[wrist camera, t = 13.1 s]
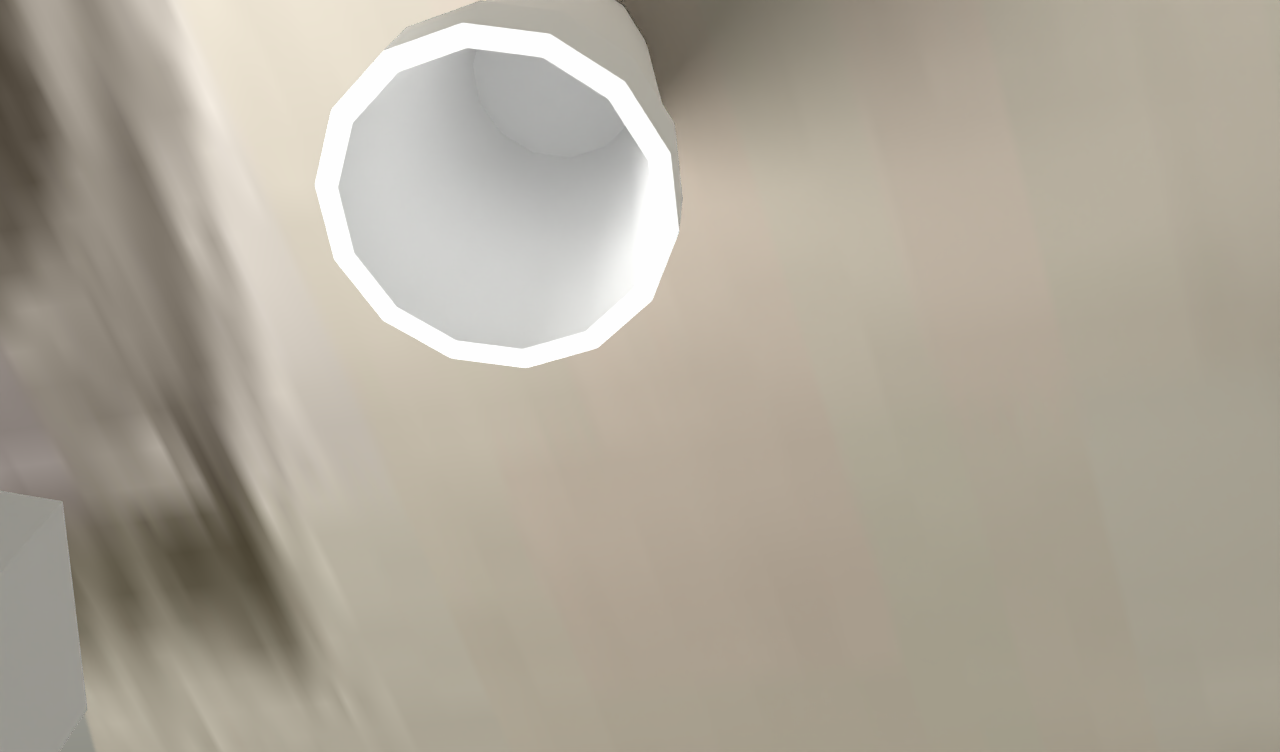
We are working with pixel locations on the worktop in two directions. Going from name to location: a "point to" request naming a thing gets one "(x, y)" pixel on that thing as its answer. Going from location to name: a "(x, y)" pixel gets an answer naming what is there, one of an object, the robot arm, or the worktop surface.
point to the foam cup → (505, 180)
